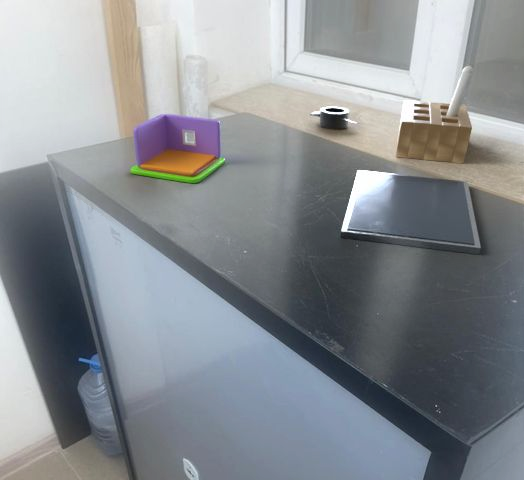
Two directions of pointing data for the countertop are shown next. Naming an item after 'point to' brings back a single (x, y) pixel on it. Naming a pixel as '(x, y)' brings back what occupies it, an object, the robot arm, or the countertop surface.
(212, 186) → the countertop surface
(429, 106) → the pen stand
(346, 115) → the black ring with handles
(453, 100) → the stylus
